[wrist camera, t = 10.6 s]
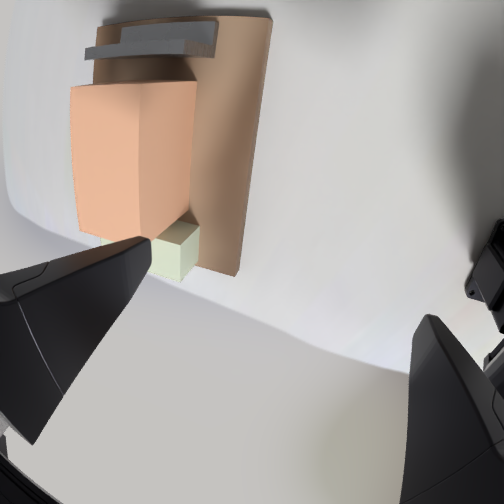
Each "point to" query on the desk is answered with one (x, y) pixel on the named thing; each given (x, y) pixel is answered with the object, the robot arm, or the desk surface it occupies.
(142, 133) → the peach rectangular block
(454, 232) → the desk surface
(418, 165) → the desk surface
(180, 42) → the bookend
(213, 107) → the shelf board
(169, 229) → the pale green rectangular block
